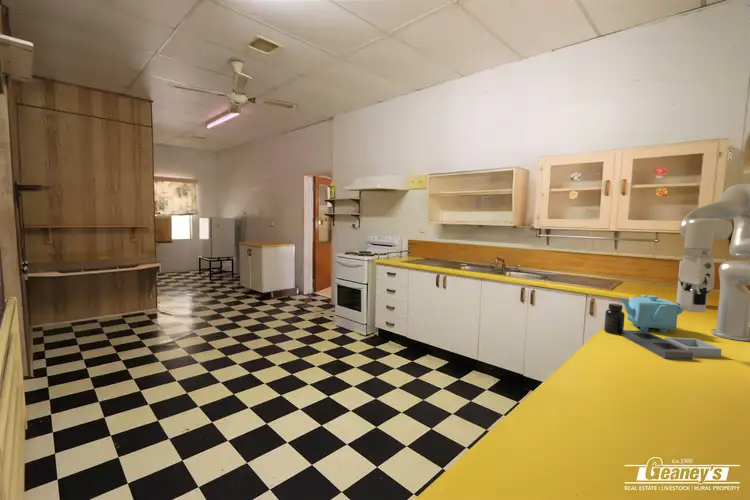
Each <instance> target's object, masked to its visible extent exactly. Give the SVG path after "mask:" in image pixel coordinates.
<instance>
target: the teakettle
mask: <svg viewBox="0 0 750 500" xmlns="http://www.w3.org/2000/svg"><path fill="white" fill-rule="evenodd" d="M617 299H619V300H620V301H622V303H623V306H624V309H625V312H626V314H627V320H628V321H629V322H631V323H632V324H633V325H634V326H636V327H640V328H639V331H647V332H648V331H649V328H652V329H658V332H660V333H665V334H667V333H669V332H668V330H674V331H676V330H677V326H678V325H677V324H678V322H677V321H678V316H679V315H680V314H682V313H683V312H684V310H683V309H680V305H679V304H677V303H675V302H673V301H670V300H668V299H665V298H659V297H658V296H657V295H648V296H647V295H645V294H640V297H639V296H629V299H627V298H625V297H621V296H620V297H619V296H617Z"/></svg>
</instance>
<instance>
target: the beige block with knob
mask: <svg viewBox="0 0 750 500" xmlns="http://www.w3.org/2000/svg"><path fill="white" fill-rule="evenodd" d="M695 294H697V289H690V290H681V302H680V309H683V311H687V312H690V313H706V311H707V301H708V294H706V303H705V305H695Z"/></svg>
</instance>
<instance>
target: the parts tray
mask: <svg viewBox="0 0 750 500" xmlns="http://www.w3.org/2000/svg"><path fill="white" fill-rule="evenodd" d="M664 340H666V341H669V342H671V343H673V344H675V345H677V346H680V347H682V348H684V349H686V350H688V351H691V352H693V357H704V358H722V357H721V356H722V348H720V347H718V346H716V345H713V344H711V343H708V342H705V341H703V340H700V339H698V338H691V337H690V338H687V337H667V336H666V337H664Z"/></svg>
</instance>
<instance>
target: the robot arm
mask: <svg viewBox="0 0 750 500" xmlns="http://www.w3.org/2000/svg"><path fill="white" fill-rule="evenodd" d="M729 220H732V221H733V224H732V222H731V221H729ZM678 227H679V231H678V232H679V233H680V236H682V237H683V238H684V247H683V257H682V260H681V261H682V264H681V269H680V277H679V276H678V277H679V278H678V277H677V282H678V281H679V282H680V283H681V286H682V290H690V289H692V288H693V285H696V289H697V294H695V305H705V303H706V294H707V295H708V293H709V292H710V291H711V290H713V289H714V288H715V272H716V271H715V261H714V258H712V256H713V245H714V240H722V239H727V238H728V237H730V235H731V234H732V235H731V240H730V243H729V250H728V253H729V254H730V255H731V257H733V258H738V259H743V260H744V261H743V260H727V261H724V262H722V263H721V264H720V265H719V267H718V276H719V299H718V307H717V316H716V326H715V328H713V329H711V330H710V333H711V334H712V335H714V336H716V337H719V338H724V339H729V340H734V341H741V342H742V341H745V342H750V290H749V288H748V287H747V286H750V261H746V260H750V183H739V184H738V183H737V184H734V185H731V186H729V187H727V188H726V189H725V191H724V192H723V193H722V194H721V195H720V196H719V197H718V199H716V200H715V202H711V203H708V204H706V205H703V206H700V207H697V208H696V209H693V210H692V211H690V212H689V213H688V214H686V215H685V216H684V218H683V219H682V220H681V223H680V224H679V226H678ZM688 284H689V285H688ZM702 284H703V285H702ZM701 287H703V288H702V289H701ZM706 304H707V303H706Z"/></svg>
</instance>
